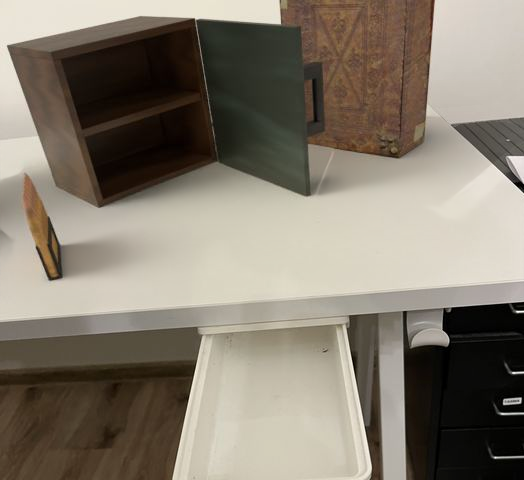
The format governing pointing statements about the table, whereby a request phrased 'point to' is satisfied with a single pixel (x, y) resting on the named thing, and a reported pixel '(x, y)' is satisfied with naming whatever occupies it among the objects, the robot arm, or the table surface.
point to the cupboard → (118, 105)
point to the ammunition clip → (42, 230)
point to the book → (367, 70)
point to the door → (261, 99)
